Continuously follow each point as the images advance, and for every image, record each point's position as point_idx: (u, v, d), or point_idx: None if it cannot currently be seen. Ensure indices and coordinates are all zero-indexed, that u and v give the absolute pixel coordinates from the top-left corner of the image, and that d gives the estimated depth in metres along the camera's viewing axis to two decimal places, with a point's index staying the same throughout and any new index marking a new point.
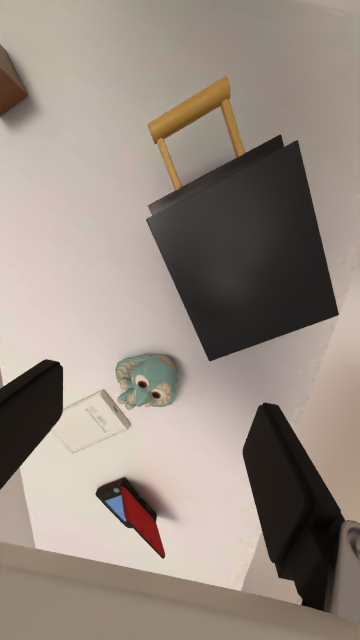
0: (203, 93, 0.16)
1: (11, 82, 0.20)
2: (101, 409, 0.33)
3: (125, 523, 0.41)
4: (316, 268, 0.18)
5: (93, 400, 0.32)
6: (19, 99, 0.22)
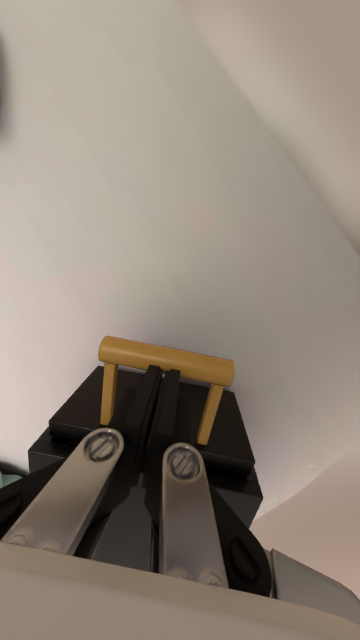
0: (194, 369, 0.10)
1: None
2: None
3: None
4: None
5: None
6: None
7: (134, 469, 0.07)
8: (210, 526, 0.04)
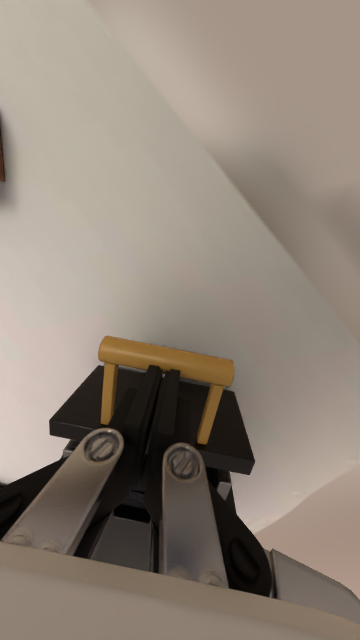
0: (193, 369, 0.10)
1: None
2: None
3: None
4: None
5: None
6: None
7: (134, 469, 0.07)
8: (210, 526, 0.04)
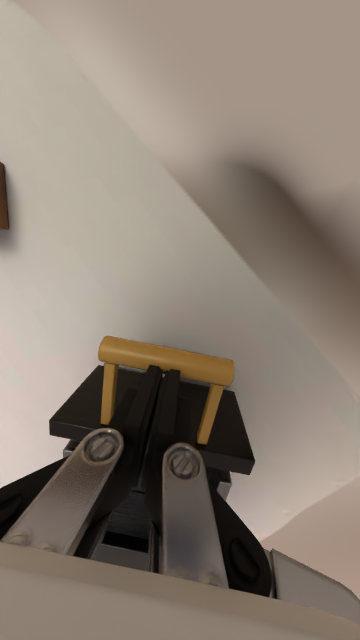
0: (194, 369, 0.10)
1: None
2: None
3: None
4: None
5: None
6: None
7: (134, 469, 0.07)
8: (210, 526, 0.04)
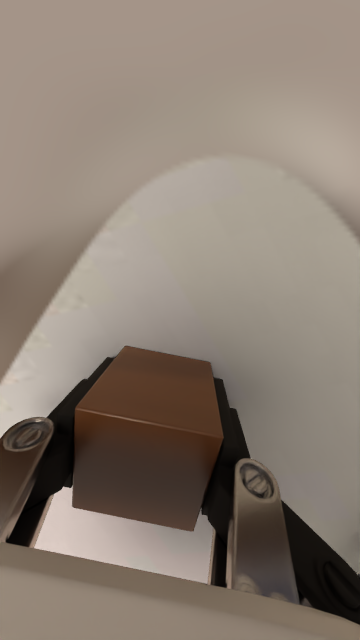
0: None
1: None
2: None
3: None
4: None
5: None
6: None
7: None
8: (284, 556, 0.04)
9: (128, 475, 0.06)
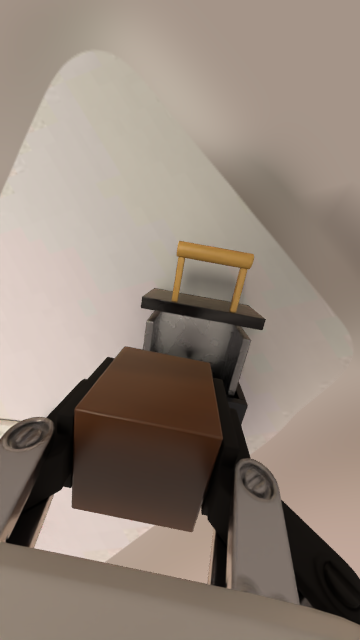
0: (231, 255, 0.18)
1: None
2: None
3: None
4: None
5: (7, 428, 0.33)
6: None
7: None
8: (284, 556, 0.04)
9: (127, 476, 0.06)
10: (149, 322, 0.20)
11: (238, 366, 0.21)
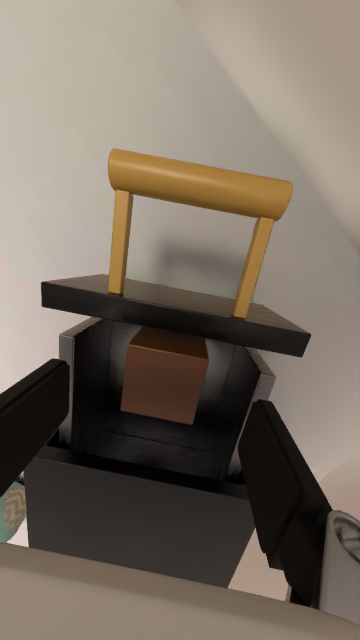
0: (238, 180, 0.07)
1: None
2: None
3: None
4: None
5: None
6: None
7: None
8: None
9: (155, 386, 0.11)
10: (64, 337, 0.10)
11: None
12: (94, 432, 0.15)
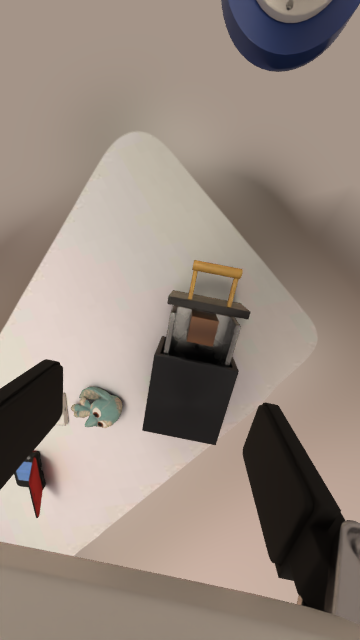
0: (227, 270, 0.27)
1: None
2: None
3: (18, 481, 0.52)
4: (217, 421, 0.34)
5: None
6: None
7: None
8: None
9: (200, 331, 0.31)
10: (172, 313, 0.30)
11: (232, 344, 0.31)
12: None
